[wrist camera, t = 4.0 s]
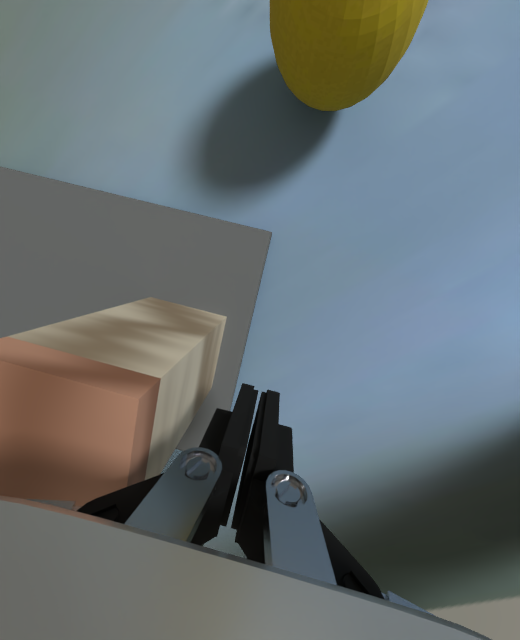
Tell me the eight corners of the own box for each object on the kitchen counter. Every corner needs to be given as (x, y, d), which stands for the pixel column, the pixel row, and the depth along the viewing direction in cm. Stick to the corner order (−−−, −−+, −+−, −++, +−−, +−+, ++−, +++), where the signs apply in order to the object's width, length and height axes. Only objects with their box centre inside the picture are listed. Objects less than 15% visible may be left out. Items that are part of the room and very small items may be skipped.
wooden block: (226, 316, 16) (139, 399, 7) (211, 387, 18) (118, 542, 8) (150, 297, 17) (-40, 349, 7) (140, 368, 18) (-33, 496, 8)
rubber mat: (271, 233, 16) (271, 232, 15) (219, 454, 20) (217, 460, 19) (-38, 158, 17) (-50, 154, 16) (-29, 384, 20) (-39, 387, 20)
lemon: (322, 163, 15) (361, 55, 7) (253, 82, 14) (210, -135, 6) (407, 77, 13) (572, -176, 6) (334, -16, 13) (406, -435, 5)
